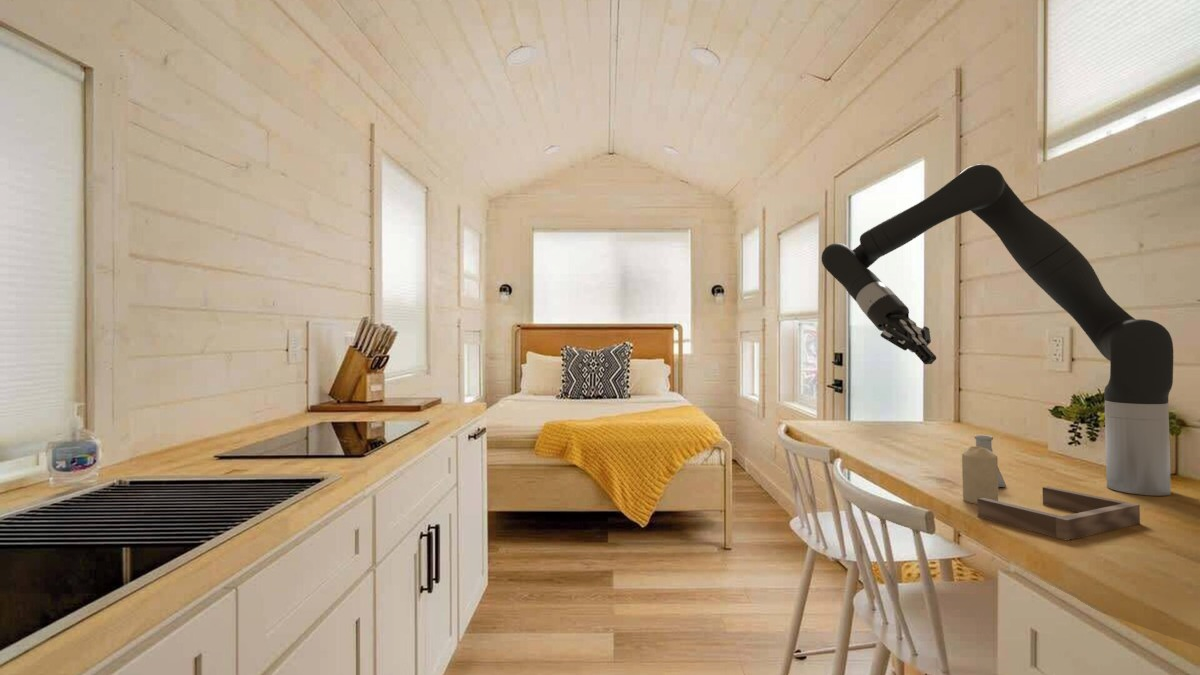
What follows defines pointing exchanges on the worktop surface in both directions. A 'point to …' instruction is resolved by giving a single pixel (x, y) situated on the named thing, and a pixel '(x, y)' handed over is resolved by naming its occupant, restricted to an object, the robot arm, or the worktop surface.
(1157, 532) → the worktop surface
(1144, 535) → the worktop surface
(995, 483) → the beige milk carton
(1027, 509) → the walnut bay
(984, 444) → the flask
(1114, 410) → the robot arm
